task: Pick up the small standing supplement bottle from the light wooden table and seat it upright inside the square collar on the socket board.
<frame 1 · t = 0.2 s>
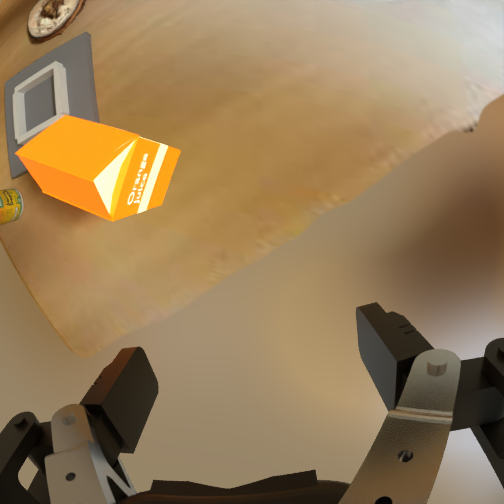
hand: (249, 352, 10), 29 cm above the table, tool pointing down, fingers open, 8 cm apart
socket board: (48, 105, 34), on the table
supplement bottle: (15, 204, 38), on the table
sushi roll: (59, 13, 31), on the table
orange juice: (142, 167, 37), on the table
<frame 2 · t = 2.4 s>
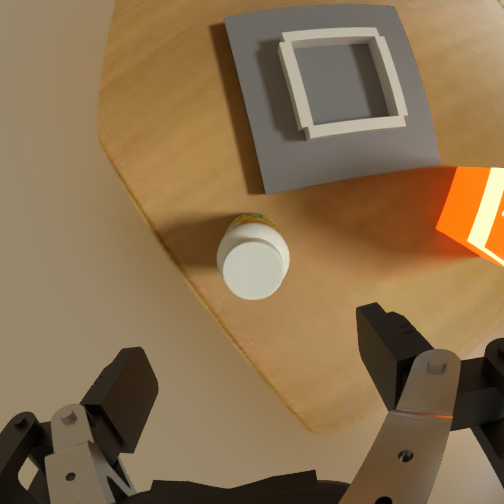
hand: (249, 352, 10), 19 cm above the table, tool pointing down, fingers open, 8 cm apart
socket board: (337, 86, 25), on the table
supplement bottle: (253, 239, 29), on the table
orange juice: (470, 213, 28), on the table
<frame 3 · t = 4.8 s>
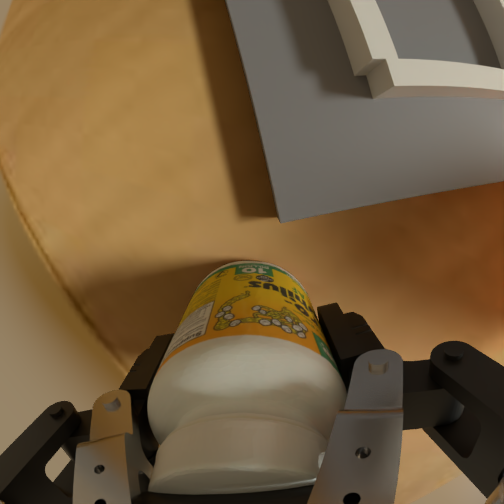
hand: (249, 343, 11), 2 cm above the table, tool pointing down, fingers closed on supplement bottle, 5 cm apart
socket board: (411, 13, 10), on the table
supplement bottle: (251, 312, 14), on the table, touching gripper
when the fingers open (5 cm above the table, at t = 11.1 s): supplement bottle stays where it is, resting on socket board.
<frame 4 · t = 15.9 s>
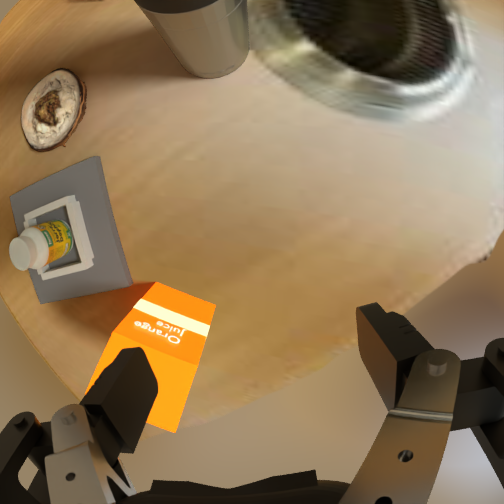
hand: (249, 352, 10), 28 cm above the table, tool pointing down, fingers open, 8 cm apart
socket board: (65, 235, 38), on the table
supplement bottle: (61, 237, 37), point 1 cm above the table, touching socket board
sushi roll: (56, 111, 34), on the table
orange juice: (178, 315, 41), on the table
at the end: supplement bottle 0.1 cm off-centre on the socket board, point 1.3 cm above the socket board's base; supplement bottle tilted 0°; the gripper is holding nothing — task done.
